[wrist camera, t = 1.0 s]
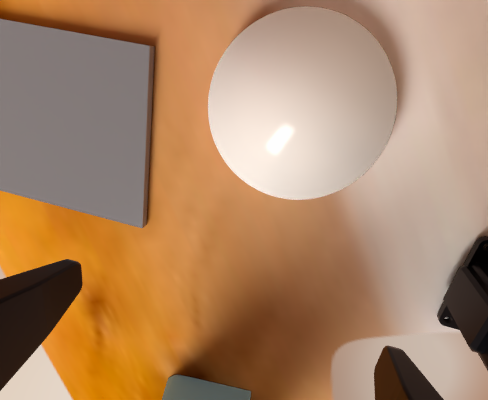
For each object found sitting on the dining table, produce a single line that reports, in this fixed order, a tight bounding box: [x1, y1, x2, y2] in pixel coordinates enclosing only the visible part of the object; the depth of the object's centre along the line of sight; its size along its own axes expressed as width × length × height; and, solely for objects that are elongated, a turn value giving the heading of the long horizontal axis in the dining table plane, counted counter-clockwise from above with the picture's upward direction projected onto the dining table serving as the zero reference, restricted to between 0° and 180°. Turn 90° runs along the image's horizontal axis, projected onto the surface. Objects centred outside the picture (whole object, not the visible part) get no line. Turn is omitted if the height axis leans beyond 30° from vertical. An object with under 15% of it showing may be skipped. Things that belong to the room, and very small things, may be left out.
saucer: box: [208, 6, 397, 200], centre depth 18 cm, size 10×10×2 cm
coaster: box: [0, 19, 155, 228], centre depth 22 cm, size 12×12×1 cm
